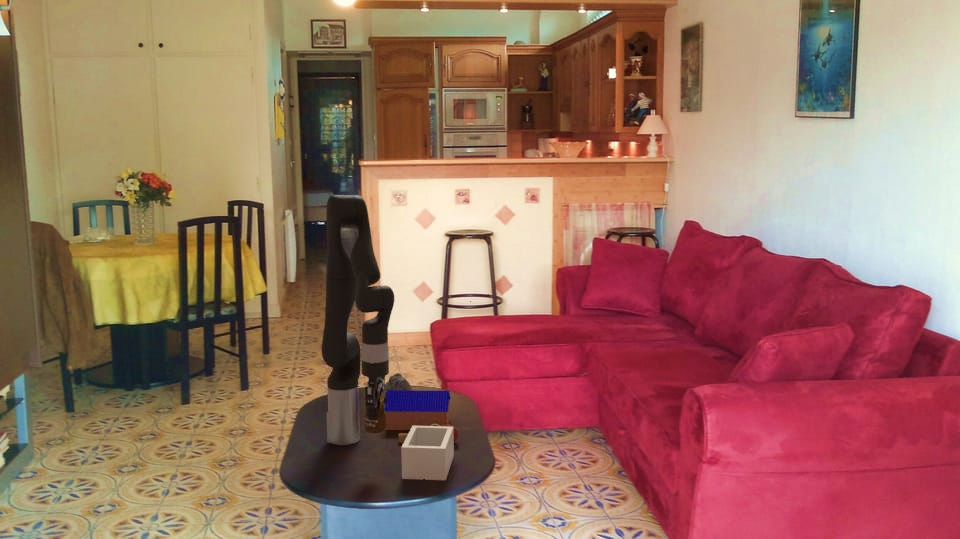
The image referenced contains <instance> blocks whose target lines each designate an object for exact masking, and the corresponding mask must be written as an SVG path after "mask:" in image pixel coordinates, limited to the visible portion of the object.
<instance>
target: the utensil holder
mask: <svg viewBox="0 0 960 539" xmlns="http://www.w3.org/2000/svg"><path fill="white" fill-rule="evenodd" d="M383 395H384V396H383ZM383 401H385V391H383V394H382V392H381V396H380V402H381V403H380V404H379V403H377V419H376V420H375V421H373V420H369V419H368V407H366V406H365V413H364V430H365V432H366V433H369V434H380V433H383V432H385V431H386V411H385V404H383ZM370 403H373V401H372V400H370Z"/></svg>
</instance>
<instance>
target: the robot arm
mask: <svg viewBox="0 0 960 539" xmlns="http://www.w3.org/2000/svg"><path fill="white" fill-rule="evenodd" d="M326 202H327V203H326V212H325V213H326V214H325V215H326V216H325V217H326V218H325V219H326V237H327V252H326V254H327V255H326V274H325V276H326V277H325V310H324V311H325V312H324V313H325V314H324V328H323V333H322V342H321V356H322V359H323V361H324V363H325V364H326V365H327V366H328V367H330V368H331V372H330V373H329V375H328V377H327V379H326V380H327V381H326V384H327V405H328V406H327V408H328V409H327V410H328V411H326V435H327V436H326V437H327V438H326V439H327V444H333V445H337V446H348V445H354V444H356V443H358V442H359V441H360V439H361V431H360V430H361V429H360V427H361V426H360V402H359V401H360V400H359V397H360V396H359V379H360V376H361V375H362V376H363V377H367V378H368V379H367V380H368V381H366V386H365V387H364V399H365V408H366V407H368V419H369V420H373V421H375V420H376V419H377V403H379V404H380V403H381V402H380V396H381V392H382V394H383V391H385V384H386V376H387V375H389V373H390V351H389V350H390V349H389V339H388V338H389V325H390V324H389V323H390V320H391V315H392V311H393V307H394V304H395V293H394V291H393V289H392V288H391V287H390V286H388V285H375V284H377V283H378V282H379V281H380V279H381V271H380V269H379V268H380V267H379V265H378V262H377V258H376V256H375V255H376V254H375V251H374V247H373V239H372V231H371V225H370V219H369V218H370V217H369V211H368V207H367V206H368V205H367V203H366V200H365V199H364V197H362V196H361V195H355V194H334V195H333V194H332V195H330V196H329V197H328V200H327V201H326ZM345 227H346V228H350V227H353V228H357V237H356V240H355V242H354V244H353V246H352V249H351V252H350V253H348V251H347V249H346V247H345V245H344V243H343V239H342V233H341V232H342V230H341V228H345ZM354 305H355V307H356V308H357V309H358V311H359V312H361V313H363V314H365V313H366V314H368V313H377V314H376V315H375V317H372V318H370V319H367V320H365V321H364V322H363V323H362V325H361V326H362V327H361V332H362V333H361V337H362V338H361V339H362V340H361V345H360V341H359V339H358V338H357V336H356V335H355V334H353V333H351V332H348V325H349V319H350V316H351V313H352V311H353V308H354ZM371 400H372V402H371Z"/></svg>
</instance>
